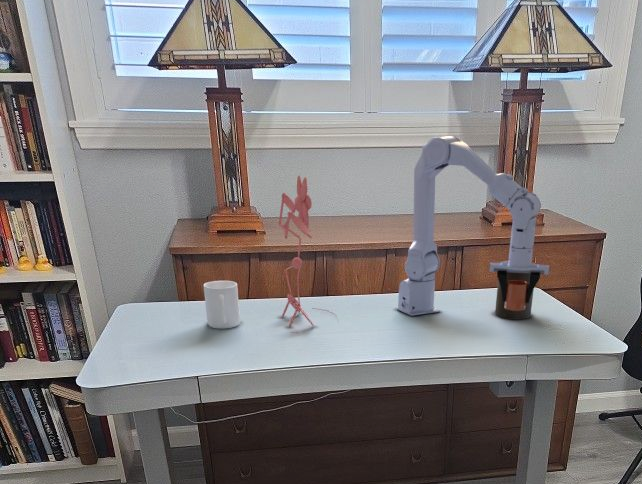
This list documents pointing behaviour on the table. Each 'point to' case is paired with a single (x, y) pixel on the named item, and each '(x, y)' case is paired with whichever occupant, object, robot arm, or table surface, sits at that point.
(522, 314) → the pillar candle
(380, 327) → the table surface
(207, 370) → the table surface
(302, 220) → the pink stick figure
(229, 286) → the cup
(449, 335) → the table surface
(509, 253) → the robot arm
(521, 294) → the terracotta pipe segment
